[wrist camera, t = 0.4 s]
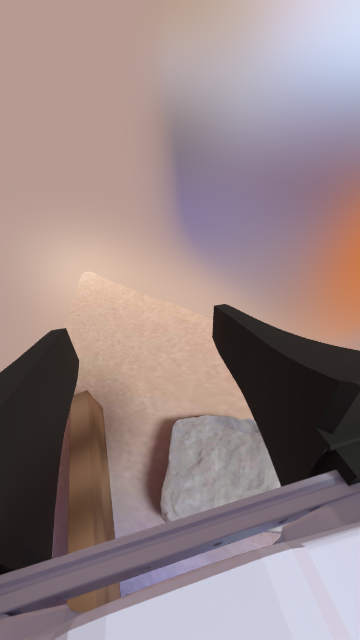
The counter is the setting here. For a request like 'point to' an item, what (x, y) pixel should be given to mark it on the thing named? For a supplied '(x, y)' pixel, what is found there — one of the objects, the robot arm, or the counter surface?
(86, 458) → the walnut wall
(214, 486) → the stone block
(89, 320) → the counter surface
